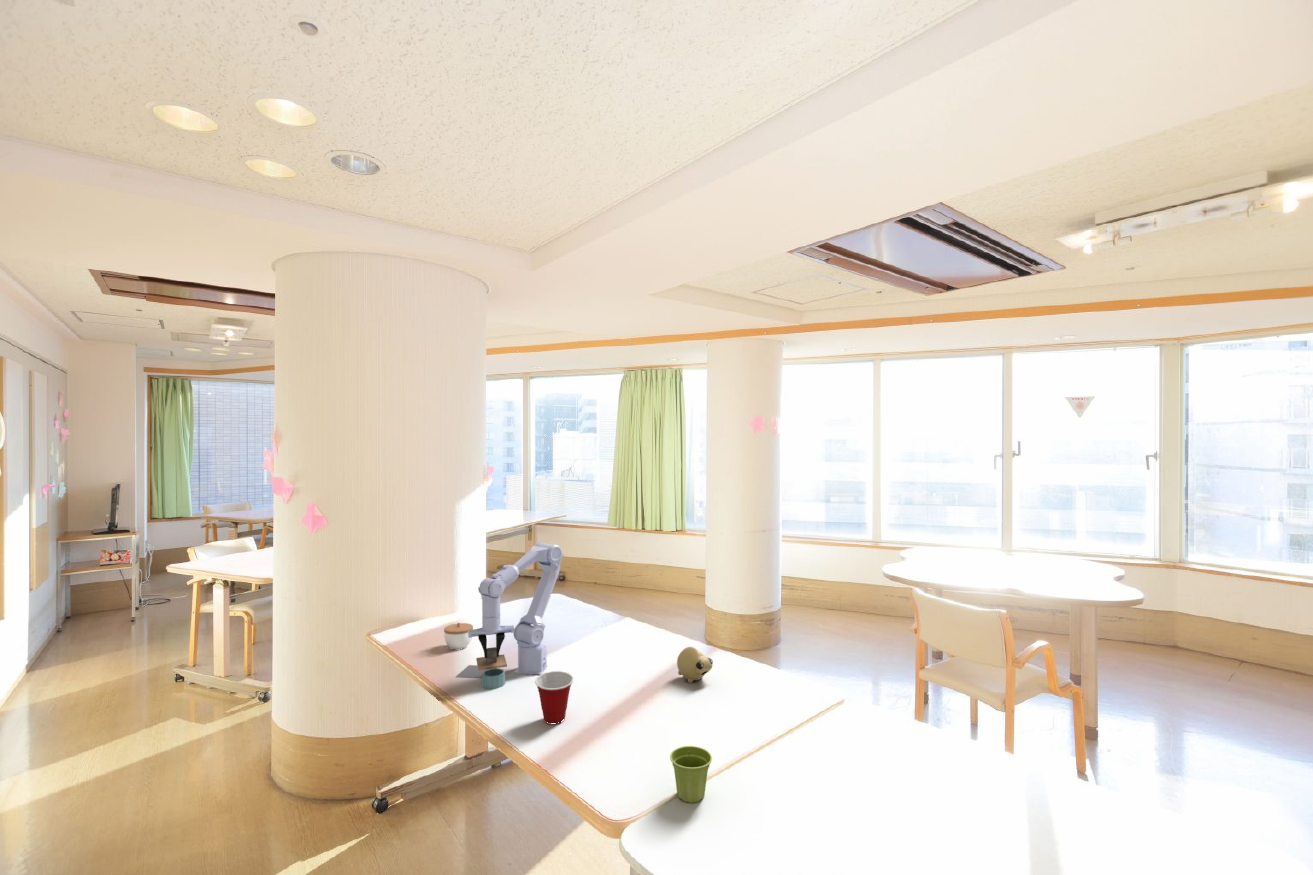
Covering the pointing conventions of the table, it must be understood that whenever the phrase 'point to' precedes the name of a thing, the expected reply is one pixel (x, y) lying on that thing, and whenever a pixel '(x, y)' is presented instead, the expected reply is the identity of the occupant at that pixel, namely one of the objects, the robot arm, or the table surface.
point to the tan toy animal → (693, 664)
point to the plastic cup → (554, 694)
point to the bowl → (493, 678)
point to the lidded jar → (457, 635)
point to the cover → (491, 660)
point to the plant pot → (690, 772)
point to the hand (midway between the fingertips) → (491, 656)
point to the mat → (471, 672)
